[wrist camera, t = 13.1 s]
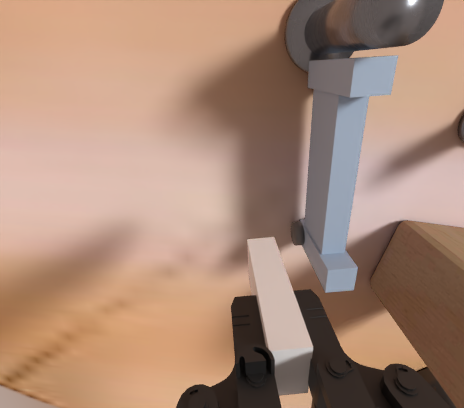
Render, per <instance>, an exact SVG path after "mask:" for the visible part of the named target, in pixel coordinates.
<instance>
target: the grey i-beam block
mask: <svg viewBox="0 0 464 408" xmlns="http://www.w3.org/2000/svg"><path fill="white" fill-rule="evenodd" d="M397 59H398V56H380V57H362V58H344V59H329V60H314V61H309V73H308V88H311V89H314V93H313V108H312V122H311V137H310V151H309V166H308V180H307V195H306V209H305V219H300V222H292V224H291V237H292V241H293V244H294V245H302V246H303V248H304V250H305V252H306V254H307V257H308V259H309V261H310V263H311V265H312V267H313V269H314V271H315V273H316V275H317V277H318V279H319V281H320V283H321V285H322V287H323V289H324V291H325V293H328V292H339V291H350V290H354V286H355V281H356V276H357V270H358V267H357V265H356V264H355V263H354V261H353V260H352V258H351V257H350V256H349V254H348V253H347V251H346V250H345V248H346V241H347V235H348V229H349V222H350V216H351V209H352V203H353V196H354V190H355V184H356V177H357V171H358V164H359V158H360V152H361V145H362V139H363V132H364V126H365V119H366V113H367V107H368V100H369V96H379V95H391V91H392V85H393V80H394V75H395V69H396V64H397Z"/></svg>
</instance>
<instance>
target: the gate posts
mask: <svg viewBox="0 0 464 408" xmlns="http://www.w3.org/2000/svg"><path fill="white" fill-rule="evenodd" d="M443 1H444V0H298V1H297V2H296V3H295V5H294V6H293V8H292V10H291V12H290V14H289V16H288V19H287V22H286V28H285V44H286V48H287V51H288V54H289V56H290V58H291V59H292V61H293V62H294V63H295V64H296V65H297V66H298V67H299V68H301V69H302V70H304V71H306V72H309V61H314V60H329V59H344V58H349V57H350V56H351V55H352V53H353V52H354V51H359V50H369V49H378V48H388V47H397V46H405V45H408V44H411V43H413V42H415V41H417V40H419V39H420V38H421V37H423V36H424V35H425V34H426V33H427V32H428V31H429V30H430V28H431V27H432V26H433V24H434V23H435V21H436V20H437V18H438V16H439V14H440V11H441V9H442V5H443ZM458 135H459V137H460V139H461V140H462V141H463V142H464V114H463V116H462V118H461V120H460V122H459V126H458Z"/></svg>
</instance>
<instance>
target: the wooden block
mask: <svg viewBox="0 0 464 408" xmlns="http://www.w3.org/2000/svg"><path fill="white" fill-rule="evenodd" d="M370 285H371V288H372V289H373V291H374V292H375V294H376V295H377V296H378V298H379V299H380V301H381V302H382V304H383V305H384V306H385V308H386V309H387V311H388V312H389V313H390V315H391V316H392V318H393V319H394V320H395V322H396V323H397V325H398V326H399V327H400V329H401V330H402V332H403V333H404V334H405V336H406V337H407V339H408V340H409V342H410V343H411V344H412V346H413V347H414V349H415V350H416V351H417V353H418V354H419V356H420V357H421V358H422V360H423V361H424V363H425V364H426V365H427V367H428V368H429V370H430V371H431V372H432V374H433V375H434V377H435V378H436V380H437V381H438V382H439V384H440V385H441V387H442V388H443V389H444V391H445V392H446V394H447V395H448V396H449V398H450V399H451V401H452V402H453V403H454V405H455V406H456V408H464V228H461V227H453V226H445V225H438V224H430V223H423V222H415V221H408V220H407V221H403V222H401V223H400V224H399V225H398V227H397V229H396V231H395V233H394V235H393V237H392V239H391V241H390V243H389V245H388V247H387V249H386V251H385V252H384V254H383V256H382V258H381V260H380V262H379V264H378V266H377V268H376V270H375V272H374V274H373V276H372V278H371V281H370Z"/></svg>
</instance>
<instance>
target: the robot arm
mask: <svg viewBox="0 0 464 408" xmlns="http://www.w3.org/2000/svg"><path fill="white" fill-rule="evenodd" d="M247 247H248V271H249V281H250V287H251V293H252V296H241V297H235V298H234V300H233V303H232V305H231V312H232V325H233V338H234V351H235V365H234V368H233V371H232V372H231V374H230V375H229V376H228V377H227V378H226V379H225V380H223V381H222V382H220V383H218V384H216V385H214V386H212V387H208V386H206V385H203V384H202V385H194V386H192V387H190V388H188V389H187V390H186V391H185V392H184V393H183V394H182V395H181V397H180V399H179V401H178V404H177V407H176V408H281V404H280V399H279V396H280V395H289V394H299V393H308V387H309V388H310V391H311V395H312V398H313V399H312V407H311V408H456V406H455V405H454V403H453V402H452V401H451V399H450V398H449V396H448V395H447V394H446V392H445V391H444V389H443V388H442V387H441V385H440V384H439V382H438V381H437V380H436V378H435V377H434V375H433V374H432V372H431V371H430V370H429V368H427V369H424V370H421V371H419V372H416V371H415V370H414V369H412V368H410V367H408V366H406V365H402V364H390V365H389V366H387V367H386V368H385V370H380V369H375V368H371V367H366V366H363V365H360V364H358V363H356V362H354V361H353V360H352V359H351V358H349V357H348V356H347V355H346V354H345V353H344V351H343V349H342V348H341V346H340V343H339V341H338V339H337V337H336V335H335V332H334V330H333V328H332V326H331V324H330V321H329V319H328V317H327V315H326V313H325V310H324V309H323V306H322V304H321V301H320V299H319V297H318V296H317V295H316V294H315V293H314V292H313V291H312V290H311V289H309V290H298V291H293V288H292V286H291V283H290V280H289V277H288V274H287V271H286V269H285V266H284V263H283V260H282V257H281V255H280V252H279V249H278V246H277V243H276V240H275V238H274V237H267V238H255V239H247Z"/></svg>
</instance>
